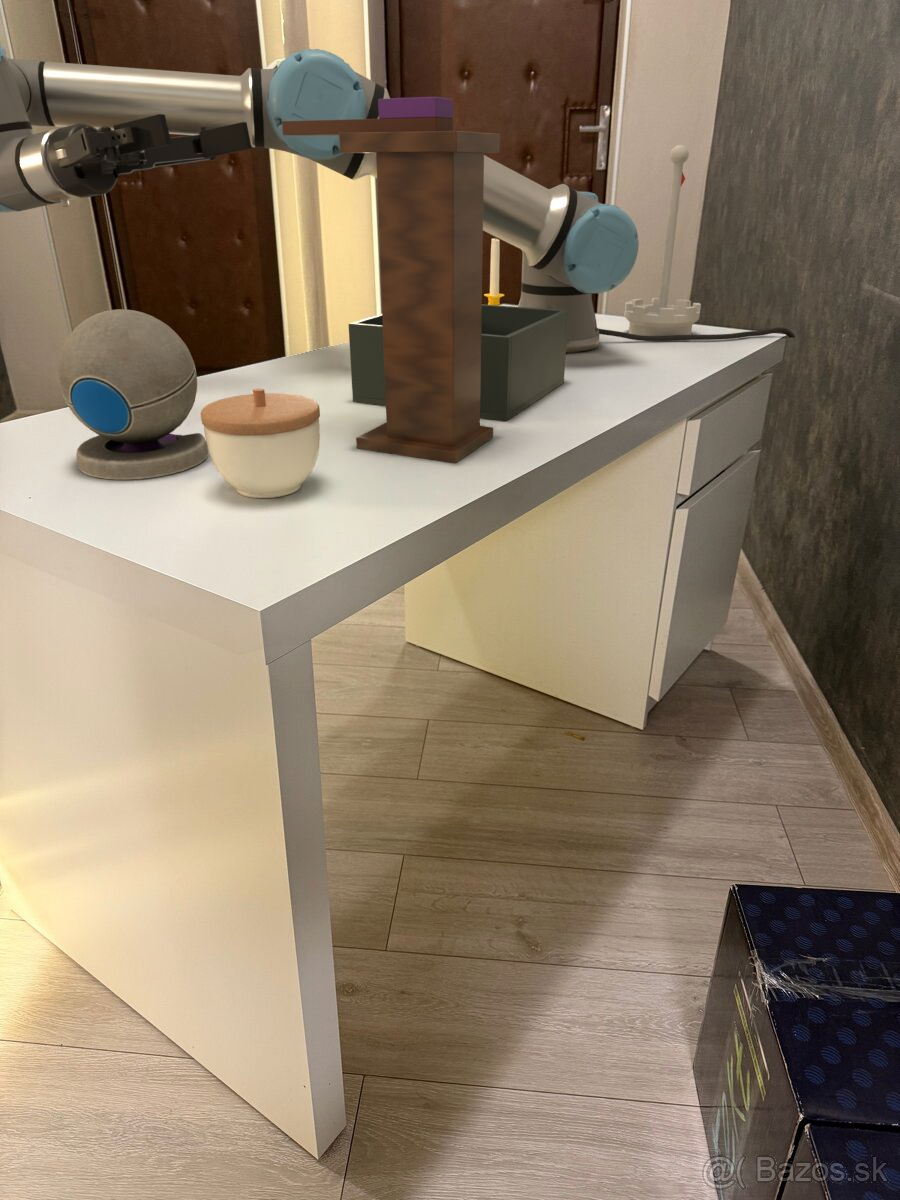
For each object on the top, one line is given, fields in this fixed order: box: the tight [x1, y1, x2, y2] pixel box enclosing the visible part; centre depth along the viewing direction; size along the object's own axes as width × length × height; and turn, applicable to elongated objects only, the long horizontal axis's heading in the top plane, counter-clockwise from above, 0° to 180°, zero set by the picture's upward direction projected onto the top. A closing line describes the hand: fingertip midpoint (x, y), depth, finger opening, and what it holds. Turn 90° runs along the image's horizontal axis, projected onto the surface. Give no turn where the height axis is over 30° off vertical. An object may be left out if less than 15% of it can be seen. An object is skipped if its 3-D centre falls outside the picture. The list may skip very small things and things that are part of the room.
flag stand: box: [623, 144, 702, 336], centre depth 142 cm, size 13×13×30 cm
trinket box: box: [200, 387, 321, 499], centre depth 77 cm, size 11×11×9 cm
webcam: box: [57, 308, 209, 480], centre depth 83 cm, size 13×13×15 cm
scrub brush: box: [282, 96, 454, 136], centre depth 80 cm, size 17×4×3 cm, turn 64°
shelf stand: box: [339, 130, 501, 464], centre depth 85 cm, size 12×10×30 cm
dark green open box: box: [348, 304, 568, 422], centre depth 110 cm, size 22×22×10 cm
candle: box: [483, 236, 505, 306], centre depth 155 cm, size 5×5×16 cm
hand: (209, 132), depth 90 cm, fingers open, 13 cm apart
